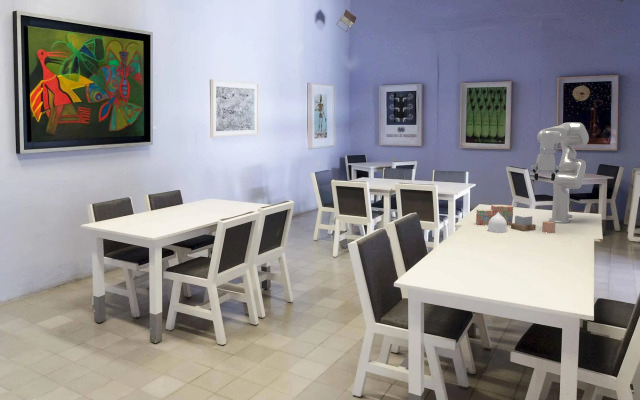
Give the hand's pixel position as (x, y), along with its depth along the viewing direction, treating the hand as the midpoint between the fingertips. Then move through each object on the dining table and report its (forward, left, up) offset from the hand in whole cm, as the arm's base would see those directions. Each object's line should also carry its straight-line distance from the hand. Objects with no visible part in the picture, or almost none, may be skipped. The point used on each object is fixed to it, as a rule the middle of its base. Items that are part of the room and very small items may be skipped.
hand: (544, 180), depth 331 cm
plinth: (+10, -5, -30) cm, 32 cm away
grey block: (+10, -5, -27) cm, 29 cm away
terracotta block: (+3, +8, -30) cm, 31 cm away
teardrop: (+28, -8, -30) cm, 42 cm away
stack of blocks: (+15, -24, -30) cm, 42 cm away
